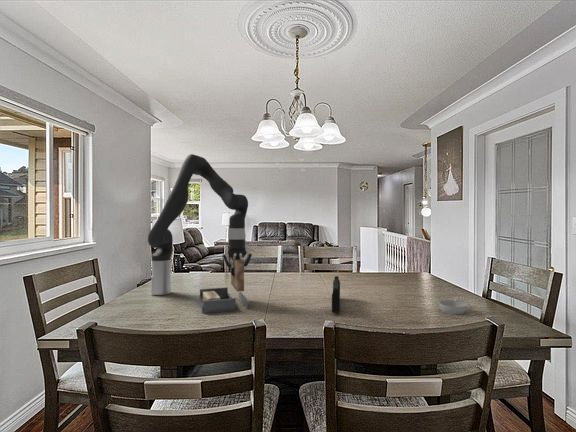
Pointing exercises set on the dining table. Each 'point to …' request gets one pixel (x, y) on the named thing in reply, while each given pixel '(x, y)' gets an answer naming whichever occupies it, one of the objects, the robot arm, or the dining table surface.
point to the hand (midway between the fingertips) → (237, 275)
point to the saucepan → (453, 306)
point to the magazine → (336, 296)
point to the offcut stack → (210, 296)
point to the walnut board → (238, 275)
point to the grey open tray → (220, 301)
